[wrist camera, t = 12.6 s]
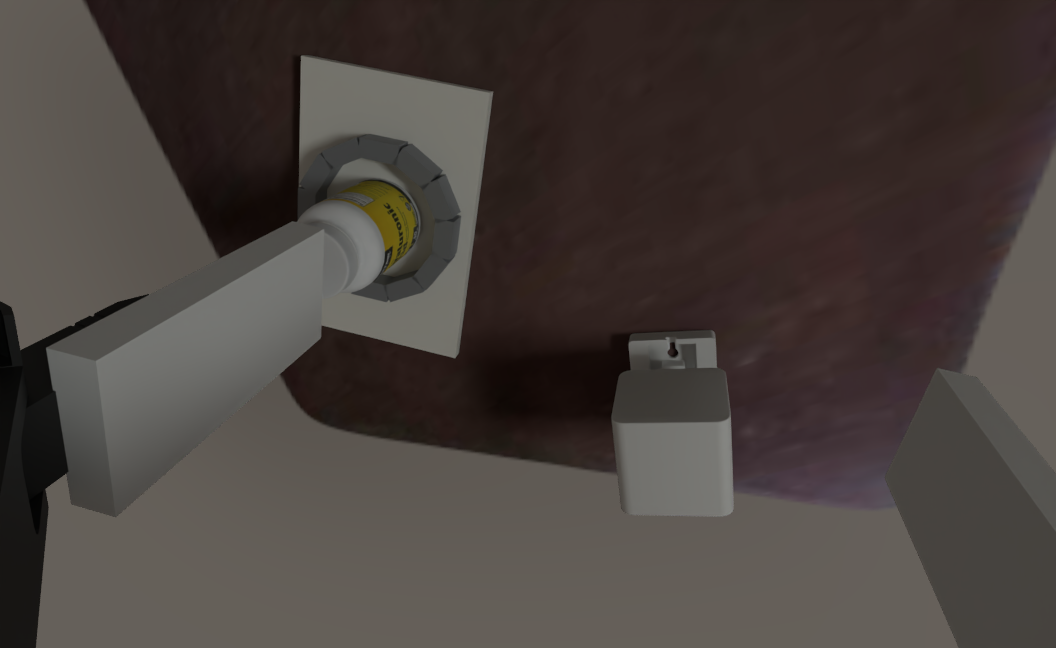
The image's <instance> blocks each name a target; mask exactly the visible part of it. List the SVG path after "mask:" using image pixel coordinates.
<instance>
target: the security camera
mask: <svg viewBox="0 0 1056 648" xmlns="http://www.w3.org/2000/svg"><path fill="white" fill-rule="evenodd" d="M670 342H675V349H676V350H677V351H678V355H677V356H675V357H671V356H669V355H668V353H667V352H668V350H669V349H670V345H669V343H670ZM629 356H630V367H631V370H630V371H625V372H623V373H621V374H620V375H619V377H618V383H617V388H616V394H615V399H614V405H613V410H612V416H611V419H612V428H613V438H614V447H615V456H616V465H617V475H618V483H619V492H620V502H621V509H622V510H623V512H625V513H627V514H630V515H663V516H664V515H666V516H717V517H719V516H726V515H729V514H730V513H732V511H733V508H734V502H733V501H734V500H733V469H732V439H731V413H730V405H729V396H728V388H727V380H726V373H725V371H723V370H722V369H719V368H717V362H716V340H715V333H714V331H712V330H699V331H676V332H654V333H634V334H631V335H630V339H629Z"/></svg>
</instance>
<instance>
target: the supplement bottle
mask: <svg viewBox="0 0 1056 648" xmlns="http://www.w3.org/2000/svg"><path fill="white" fill-rule="evenodd" d="M297 222H298V223H302V224H307V225H311V226H315V227H320V228H324V258H323V288H322V299H327V298H330V297H333V296H335V295H337V294H339V293H351V292H355V291H358V290H361V289H363V288H365V287H366V286H368V285H369V284H371V283H372V282H373V281H375V280H376V279H377V278H378V277H379V276H380V275H382V274H383V273H384V272H385V271H386V270H388V269H389V268H390V267H391V266H392V265H394V264H395V263H396V262H397V261H398V260H400V259H401V258H402V257H403V256H404V255H406V254H407V253H408V252H409V251H410V250H411V248H412V247H413V246H414V245H415V243H416V241H417V239H418V236H419V233H420V225H421V222H420V215H419V211H418V208H417V206H416V204H415V202H414V200H413V199H412V197H411V196H410V195H409V193H408V192H407V191H406V190H404V189H403V188H402V187H401V186H399V185H397V184H395V183H393V182H391V181H388V180H384V179H369V180H365V181H362V182H359V183H357V184H355V185H353V186H351V187H349V188H347V189H345V190H343V191H341V192H339V193H337V194H335V195H333V196H331V197H329V198H327V199H325V200H323V201H321V202H319V203H317V204H315V205H313V206H312V207H310V208H309V209H307V210H306V211H305V212H304V213H303V214H302V215H301V216H300V218H299V219H298V221H297Z"/></svg>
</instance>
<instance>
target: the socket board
mask: <svg viewBox="0 0 1056 648" xmlns="http://www.w3.org/2000/svg"><path fill="white" fill-rule="evenodd" d="M492 96H493V91H488V90H482V89H477V88H472V87H467V86H462V85H457V84H452V83H447V82H442V81H437V80H432V79H426V78H421V77H416V76H411V75H406V74H401V73H396V72H391V71H386V70H381V69H376V68H370V67H365V66H360V65H355V64H350V63H345V62H340V61H335V60H330V59H325V58H320V57H314V56H309V55H303V56H301V85H300V147H299V188H298V219H299V218H300V216H301V215H302V214H303V213H304V212H305V211H306V210H307V209H309V208H310V207H312V206H313V205H315V204H317V203H319V202H321V201H323V200H325V199H327V198H329V197H331V196H333V195H335V194H337V193H339V192H341V191H343V190H345V189H347V188H349V187H351V186H353V185H355V184H357V183H359V182H362V181H365V180H369V179H384V180H388V181H391V182H393V183H395V184H397V185H399V186H401V187H402V188H403V189H404V190H406V191H407V192H408V193H409V195H410V196H411V197H412V199H413V200H414V202H415V204H416V206H417V208H418V211H419V215H420V222H421V225H420V233H419V236H418V239H417V241H416V243H415V245H414V246H413V247H412V248H411V250H410V251H409V252H408V253H407V254H406V255H404V256H403V257H402V258H401V259H400V260H398V261H397V262H396V263H395V264H394V265H392V266H391V267H390V268H389V269H388V270H386V271H385V272H384V273H383V274H382V275H380V276H379V277H378V278H377V279H376V280H375V281H373V282H372V283H371V284H369V285H368V286H366V287H365V288H363V289H361V290H358V291H355V292H351V293H339V294H337V295H335V296H333V297H330V298H327V299H322V319H321V325H323V326H327V327H331V328H335V329H339V330H343V331H347V332H351V333H355V334H359V335H363V336H367V337H372V338H376V339H380V340H384V341H388V342H392V343H396V344H400V345H404V346H408V347H412V348H416V349H420V350H424V351H428V352H433V353H437V354H441V355H445V356H449V357H453V358H456V356H457V355H458V353H459V347H460V339H461V331H462V324H463V316H464V309H465V301H466V294H467V286H468V278H469V271H470V263H471V256H472V248H473V240H474V233H475V225H476V218H477V210H478V203H479V195H480V187H481V180H482V172H483V165H484V157H485V149H486V142H487V134H488V127H489V119H490V111H491V104H492Z"/></svg>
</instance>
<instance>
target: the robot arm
mask: <svg viewBox="0 0 1056 648" xmlns="http://www.w3.org/2000/svg"><path fill="white" fill-rule="evenodd" d="M323 258H324V228H320V227H315V226H311V225H307V224H302V223H298V222H293V221H292V222H290V223H288V224H286V225H284V226H282V227H281V228H279V229H277V230H275V231H273V232H271V233H269V234H267V235H265V236H263V237H261V238H259V239H257V240H255V241H253V242H251V243H249V244H247V245H245V246H244V247H242V248H240V249H238V250H236V251H234V252H232V253H230V254H228V255H226V256H224V257H222V258H220V259H218V260H216V261H214V262H212V263H210V264H209V265H207V266H205V267H203V268H201V269H199V270H197V271H195V272H193V273H191V274H189V275H188V276H185V277H183V278H181V279H179V280H177V281H175V282H173V283H171V284H170V285H168V286H166V287H164V288H162V289H160V290H158V291H156V292H154V293H152V294H150V295H149V294H147V295H143V296H139V297H135V298H131V299H128V300H124V301H120V302H117V303H115V304H113V305H111V306H109V307H107V308H105V309H103V310H101V311H99V312H97V313H95V314H94V316H93V317H92V316H89V317H87V318H85V319H83V320H80V321H79V322H76V323H75V326H68V327H66V328H65V329H62V330H60V331H58V332H56V333H55V334H52V335H50V336H48V337H46V338H44V339H42V340H40V341H38V342H36V343H34V344H32V345H30V346H28V347H26V348H24V349H22V350H20V346H19V341H18V335H17V330H16V324H15V319H14V314H13V311H12V308H11V307H10V306H8V305H6V304H4V303H2V302H0V648H36V639H37V628H38V616H39V606H40V594H41V584H42V572H43V562H44V551H45V540H46V528H47V518H48V501H47V496H46V491H45V489H46V488H47V487H48V486H50V485H51V484H52V483H54V482H55V481H56V480H58V479H59V478H61V477H62V476H63V475H65V474H67V480H68V487H69V493H70V499H71V504H72V505H76V506H79V507H82V508H86V509H89V510H93V511H96V512H100V513H103V514H107V515H110V516H113V517H117V516H118V515H119V514H120V513H121V512H122V511H123V510H125V509H126V508H127V507H128V506H129V505H130V504H131V503H133V502H134V501H135V500H136V499H137V498H138V497H139V496H141V495H142V494H143V493H144V492H145V491H146V490H148V488H150V487H151V486H152V485H153V484H154V483H156V482H157V481H158V480H159V479H160V478H161V477H162V476H163V475H165V474H166V473H167V472H168V471H169V470H170V469H172V468H173V467H174V466H175V465H176V464H177V463H178V462H180V461H181V460H182V459H183V458H184V457H185V456H186V455H188V454H189V453H190V452H191V451H192V450H193V449H194V448H196V447H197V446H198V445H199V444H200V443H201V442H202V441H204V440H205V439H206V438H207V437H208V436H209V435H210V434H211V433H213V432H214V431H215V430H216V429H217V428H218V427H220V426H221V425H222V424H223V423H224V422H225V421H226V420H228V419H229V418H230V417H231V416H232V415H233V414H234V413H236V412H237V411H238V410H239V409H240V408H241V407H242V406H244V405H245V404H246V403H247V402H248V401H249V400H250V399H252V398H253V397H254V396H255V395H256V394H257V393H258V392H260V391H261V390H262V389H263V388H264V387H265V386H266V385H268V384H269V383H270V382H271V381H272V380H273V379H274V378H276V377H277V376H278V375H279V374H280V373H281V372H282V371H284V370H285V369H286V368H287V367H288V366H289V365H290V364H292V363H293V362H294V361H295V360H296V359H297V358H298V357H300V356H301V355H302V354H303V353H304V352H305V351H306V350H308V349H309V348H310V347H311V346H312V345H313V344H314V343H316V342H317V341H318V340H319V339H320V338H321V319H322V288H323ZM885 480H886V482H887V485H888V487H889V489H890V492H891V494H892V496H893V498H894V501H895V503H896V505H897V508H898V510H899V512H900V514H901V517H902V519H903V521H904V523H905V526H906V528H907V530H908V533H909V535H910V537H911V539H912V542H913V544H914V546H915V549H916V551H917V553H918V556H919V558H920V560H921V562H922V565H923V567H924V569H925V571H926V574H927V576H928V578H929V581H930V583H931V585H932V587H933V590H934V592H935V594H936V596H937V599H938V601H939V603H940V606H941V608H942V610H943V613H944V615H945V617H946V620H947V622H948V624H949V626H950V629H951V631H952V633H953V635H954V638H955V639H956V642H957V645H958V647H959V648H1056V473H1055V472H1054V471H1053V469H1052V468H1051V467H1050V466H1049V465H1048V463H1047V462H1046V461H1045V460H1044V458H1043V457H1042V456H1041V455H1040V454H1039V452H1038V451H1037V450H1036V449H1035V448H1034V446H1033V445H1032V444H1031V443H1030V441H1029V440H1028V439H1027V438H1026V436H1025V435H1024V434H1023V433H1022V432H1021V430H1020V429H1019V428H1018V427H1017V425H1016V424H1015V423H1014V422H1013V421H1012V419H1011V418H1010V417H1009V416H1008V414H1007V413H1006V412H1005V411H1004V410H1003V408H1002V407H1001V406H1000V405H999V404H998V403H997V401H996V400H995V399H994V397H993V396H992V395H991V394H990V393H989V391H988V390H987V389H986V388H985V386H983V384H982V383H981V382H980V380H979V379H978V378H977V377H973V376H969V375H965V374H961V373H956V372H952V371H947V370H943V369H939V368H937V369H936V371H935V373H934V375H933V377H932V379H931V382H930V384H929V386H928V388H927V390H926V392H925V394H924V396H923V398H922V400H921V402H920V405H919V407H918V409H917V411H916V413H915V415H914V417H913V419H912V421H911V423H910V425H909V428H908V430H907V432H906V434H905V436H904V438H903V440H902V442H901V444H900V446H899V448H898V451H897V453H896V455H895V457H894V459H893V461H892V463H891V465H890V467H889V469H888V471H887V474H886V476H885Z"/></svg>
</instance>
